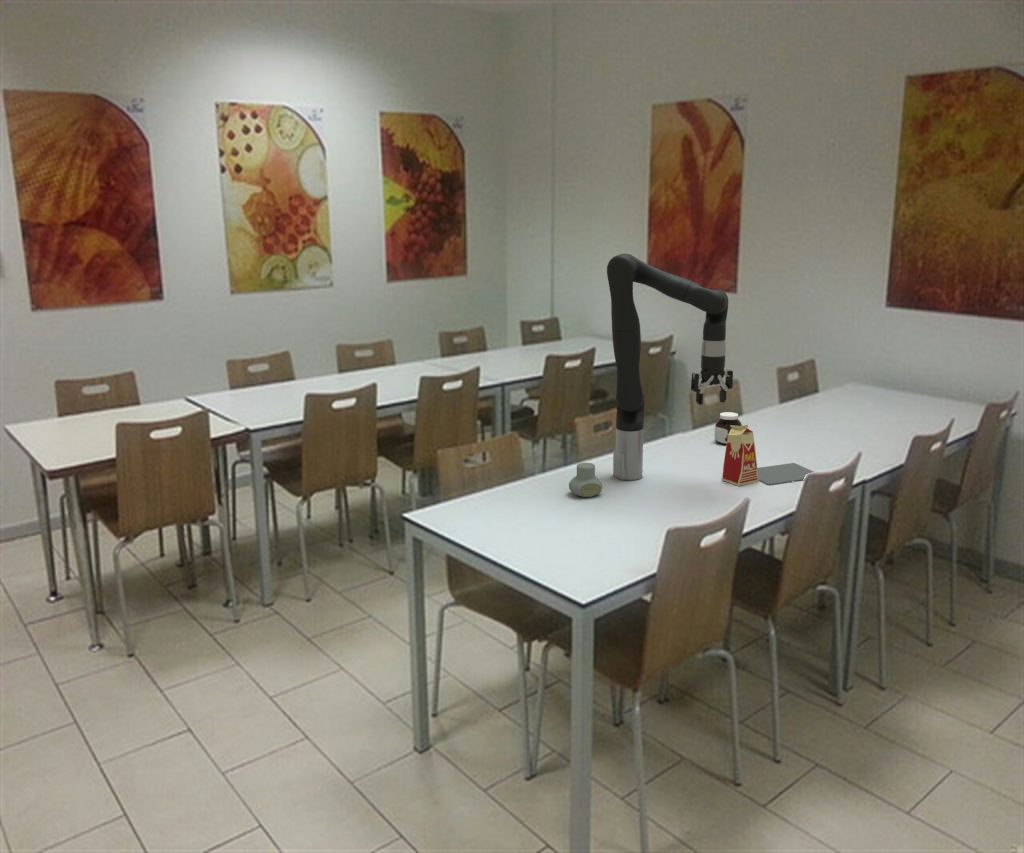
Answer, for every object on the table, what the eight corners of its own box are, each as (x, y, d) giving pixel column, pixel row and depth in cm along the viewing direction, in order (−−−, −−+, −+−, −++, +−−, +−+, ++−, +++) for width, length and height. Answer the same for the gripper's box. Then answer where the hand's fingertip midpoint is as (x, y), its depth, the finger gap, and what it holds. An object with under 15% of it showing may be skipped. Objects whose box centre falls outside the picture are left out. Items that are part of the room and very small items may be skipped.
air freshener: (574, 500, 274) (574, 470, 271) (565, 492, 282) (565, 463, 279) (606, 496, 277) (606, 467, 274) (596, 488, 284) (597, 459, 282)
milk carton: (758, 481, 288) (762, 424, 283) (739, 486, 283) (742, 428, 278) (738, 474, 295) (741, 418, 290) (718, 479, 291) (721, 422, 285)
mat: (768, 485, 284) (768, 484, 284) (740, 471, 298) (740, 470, 298) (823, 477, 291) (823, 476, 290) (794, 464, 305) (794, 462, 305)
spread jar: (712, 444, 331) (713, 415, 328) (719, 437, 340) (721, 408, 337) (743, 448, 325) (745, 418, 322) (750, 440, 335) (752, 411, 332)
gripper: (700, 357, 268) (697, 407, 273) (739, 353, 273) (736, 403, 277) (687, 353, 275) (685, 402, 280) (726, 350, 280) (723, 398, 284)
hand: (711, 403), depth 278 cm, fingers open, 8 cm apart
